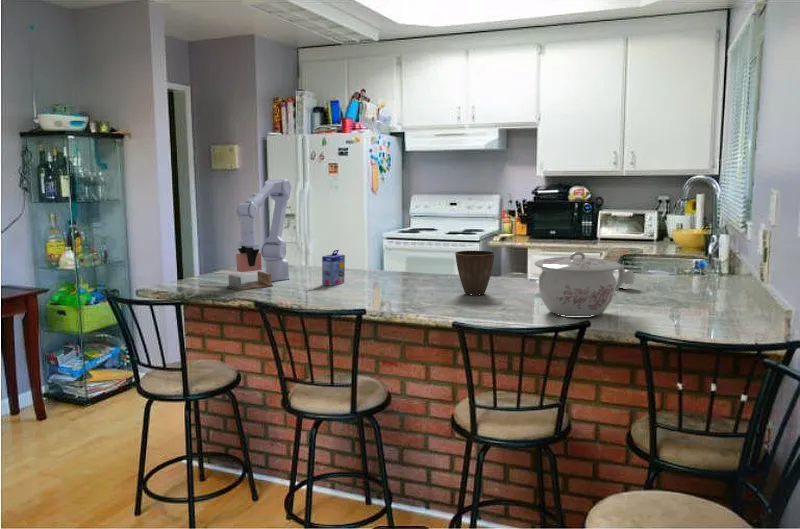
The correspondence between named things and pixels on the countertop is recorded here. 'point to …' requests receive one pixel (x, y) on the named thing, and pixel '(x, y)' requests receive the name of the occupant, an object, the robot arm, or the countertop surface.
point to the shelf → (263, 281)
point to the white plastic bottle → (628, 276)
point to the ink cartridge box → (333, 269)
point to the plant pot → (474, 270)
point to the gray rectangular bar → (235, 281)
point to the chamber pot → (578, 284)
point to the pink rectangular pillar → (243, 263)
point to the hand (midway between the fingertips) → (249, 265)
